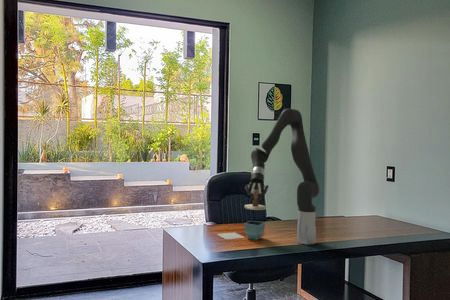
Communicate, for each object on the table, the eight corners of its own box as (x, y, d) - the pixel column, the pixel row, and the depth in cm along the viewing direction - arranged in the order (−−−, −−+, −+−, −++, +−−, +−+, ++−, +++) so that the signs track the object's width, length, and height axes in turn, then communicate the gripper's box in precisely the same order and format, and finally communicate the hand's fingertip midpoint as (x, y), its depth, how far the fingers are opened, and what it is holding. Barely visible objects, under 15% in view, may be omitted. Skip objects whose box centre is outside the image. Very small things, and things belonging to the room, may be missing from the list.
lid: (270, 209, 209) (271, 191, 209) (251, 210, 203) (252, 191, 203) (258, 205, 220) (259, 188, 219) (240, 206, 214) (241, 188, 214)
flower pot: (243, 239, 210) (244, 223, 210) (250, 236, 218) (250, 220, 218) (258, 241, 206) (258, 225, 206) (264, 238, 214) (265, 222, 214)
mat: (245, 238, 213) (245, 237, 213) (225, 239, 207) (225, 239, 207) (234, 233, 223) (234, 232, 223) (216, 234, 218) (216, 234, 218)
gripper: (245, 171, 220) (242, 195, 208) (269, 172, 217) (268, 196, 206) (245, 179, 225) (242, 203, 213) (270, 181, 223) (268, 205, 211)
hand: (255, 200), depth 209 cm, fingers closed on lid, 3 cm apart
